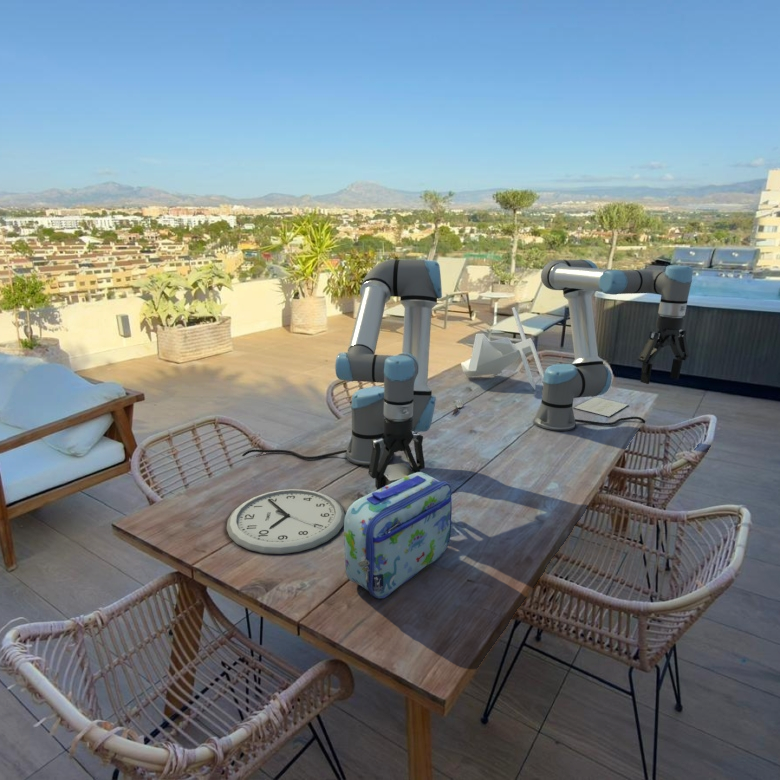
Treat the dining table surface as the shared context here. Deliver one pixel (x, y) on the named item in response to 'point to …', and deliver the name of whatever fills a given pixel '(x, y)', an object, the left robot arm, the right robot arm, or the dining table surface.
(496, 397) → the dining table surface
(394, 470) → the block
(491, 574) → the dining table surface
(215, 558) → the dining table surface
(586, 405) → the invitation card
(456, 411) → the fork
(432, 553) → the lunch box
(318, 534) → the wall clock
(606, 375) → the right robot arm
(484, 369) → the white plastic object
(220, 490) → the dining table surface
